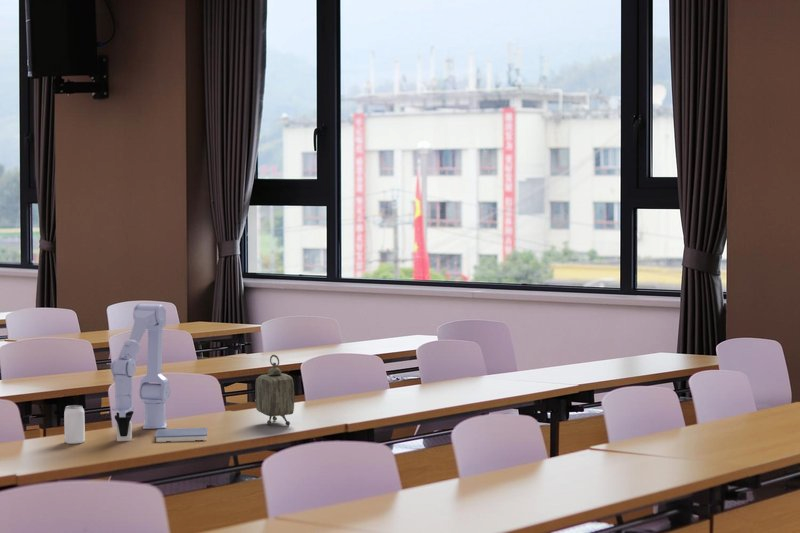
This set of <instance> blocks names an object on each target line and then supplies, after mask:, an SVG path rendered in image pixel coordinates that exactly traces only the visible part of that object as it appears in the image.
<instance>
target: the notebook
mask: <svg viewBox="0 0 800 533" xmlns="http://www.w3.org/2000/svg"><path fill="white" fill-rule="evenodd" d="M156 429H157V430H156V432H155V435H154V437H155V438H154V439H155V442H156V443H163V442H164V443H165V442H166V441H171V442H196V441H195V440H203V441H207V437H208V427H190V428H189V427H188V428H187V427H185V428H184V427H183V428H182V427H181V428H156Z"/></svg>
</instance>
